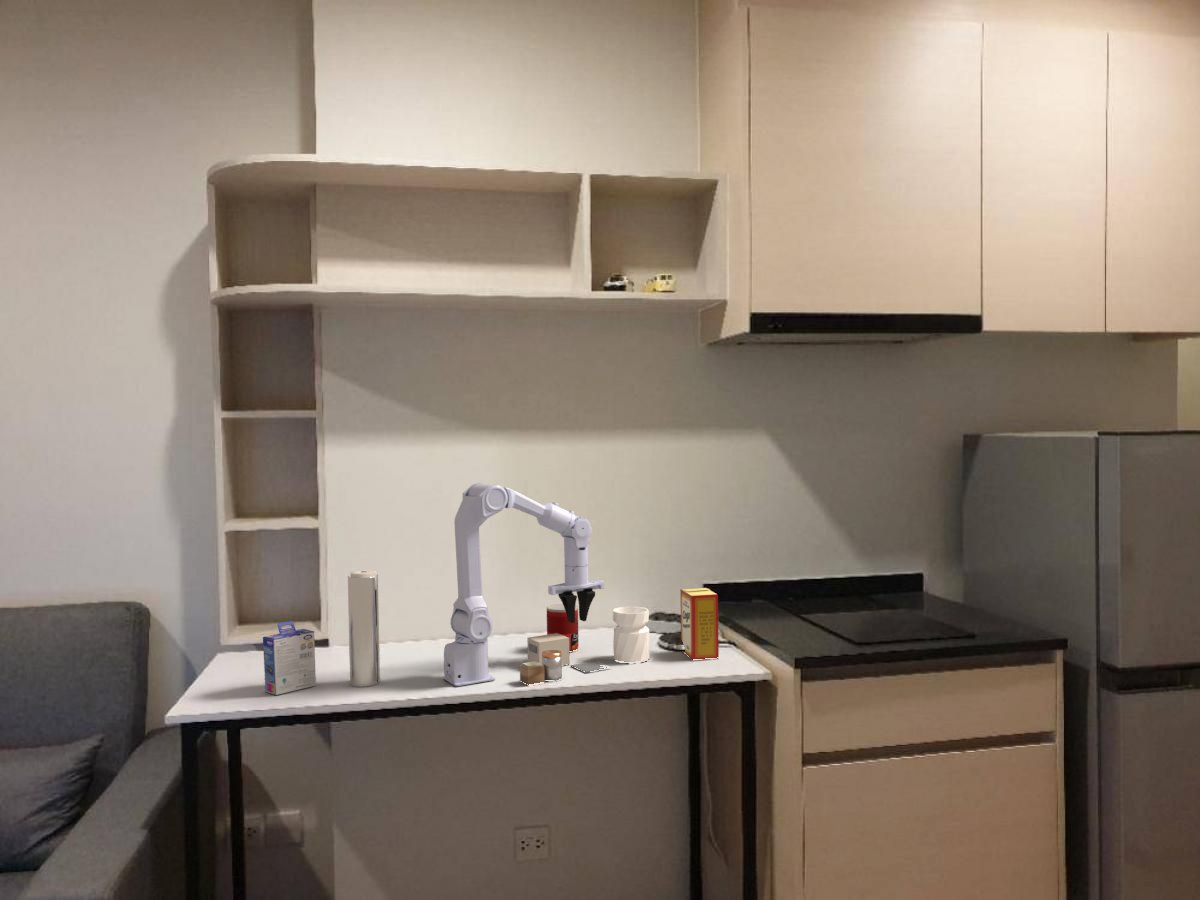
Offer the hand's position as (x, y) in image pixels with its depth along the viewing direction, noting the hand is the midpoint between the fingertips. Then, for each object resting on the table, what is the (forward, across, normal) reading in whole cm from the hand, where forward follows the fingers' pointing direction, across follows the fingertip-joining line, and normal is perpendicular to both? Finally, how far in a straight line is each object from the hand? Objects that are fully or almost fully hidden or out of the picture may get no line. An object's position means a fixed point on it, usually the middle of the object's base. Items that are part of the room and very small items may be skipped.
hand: (577, 621), depth 215 cm
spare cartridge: (+9, +13, +11) cm, 19 cm away
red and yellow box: (+10, -27, +13) cm, 31 cm away
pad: (+9, +1, +8) cm, 12 cm away
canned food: (+10, -2, -11) cm, 15 cm away
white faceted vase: (+10, -11, +7) cm, 16 cm away
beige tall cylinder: (+10, +49, -10) cm, 51 cm away
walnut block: (+10, +18, +11) cm, 23 cm away
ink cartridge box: (+10, +64, -15) cm, 66 cm away
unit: (+9, +8, 0) cm, 12 cm away
